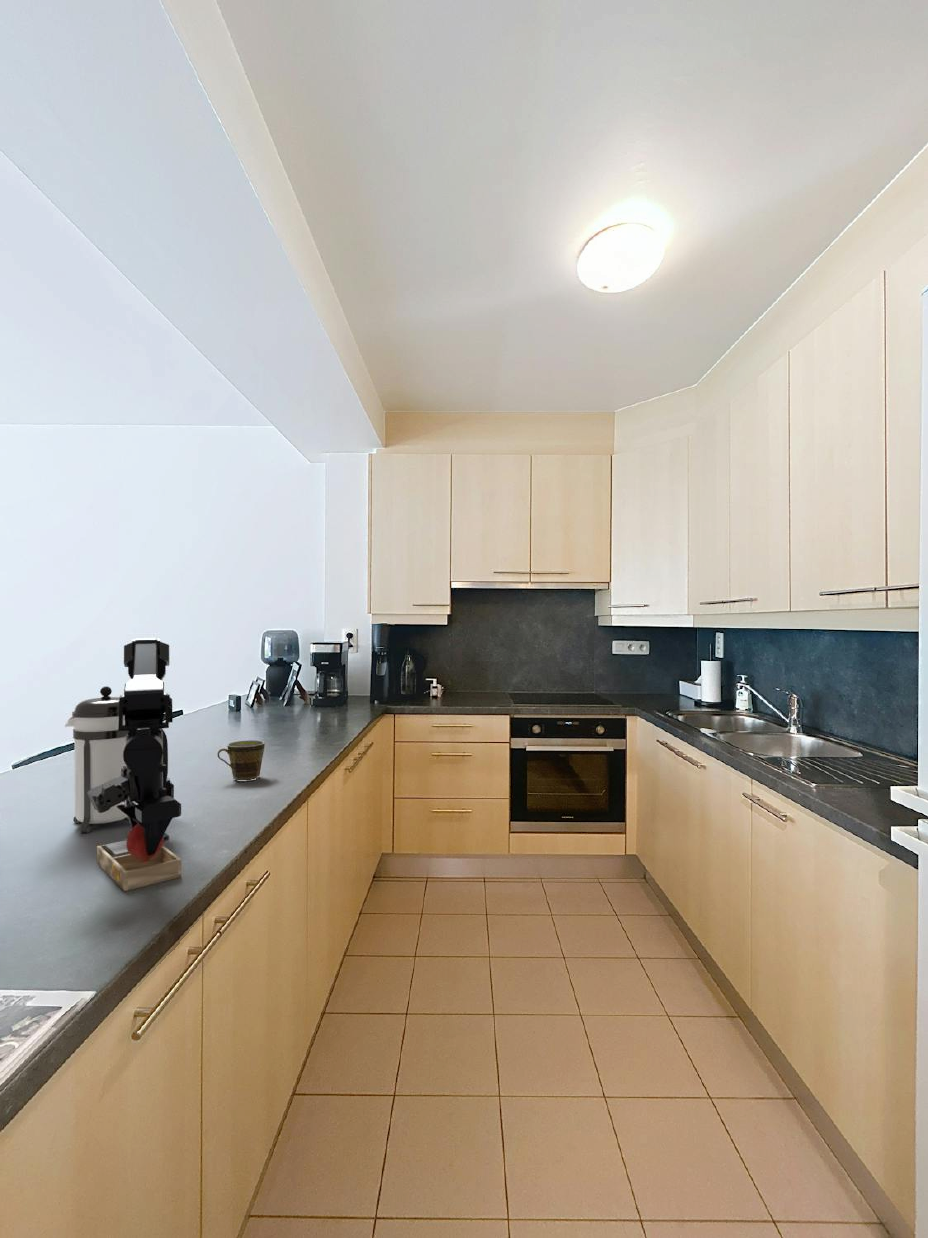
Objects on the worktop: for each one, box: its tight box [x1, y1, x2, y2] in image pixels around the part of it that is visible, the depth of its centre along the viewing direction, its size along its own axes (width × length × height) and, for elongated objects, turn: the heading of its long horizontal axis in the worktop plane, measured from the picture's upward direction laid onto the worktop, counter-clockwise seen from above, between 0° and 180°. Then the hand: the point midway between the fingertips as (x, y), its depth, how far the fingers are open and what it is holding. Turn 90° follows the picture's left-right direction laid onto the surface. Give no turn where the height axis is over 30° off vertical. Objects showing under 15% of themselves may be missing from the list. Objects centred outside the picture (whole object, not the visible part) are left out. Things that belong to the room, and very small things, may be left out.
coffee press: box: [64, 686, 169, 834], centre depth 145 cm, size 17×16×30 cm
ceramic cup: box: [216, 739, 266, 780], centre depth 183 cm, size 13×10×10 cm
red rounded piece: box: [126, 824, 165, 863], centre depth 113 cm, size 6×6×8 cm
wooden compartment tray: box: [96, 839, 182, 892], centre depth 116 cm, size 18×9×3 cm, turn 42°
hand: (145, 850), depth 113 cm, fingers closed on red rounded piece, 6 cm apart
